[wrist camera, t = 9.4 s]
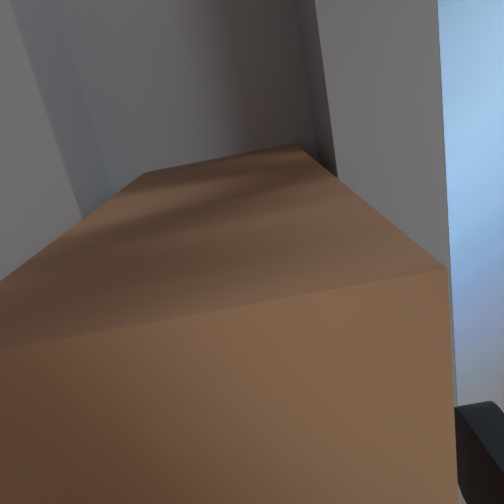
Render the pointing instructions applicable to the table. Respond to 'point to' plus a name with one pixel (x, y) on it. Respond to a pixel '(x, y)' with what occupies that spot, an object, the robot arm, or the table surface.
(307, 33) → the picture ledge
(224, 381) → the wooden framed block
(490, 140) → the table surface
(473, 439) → the robot arm
